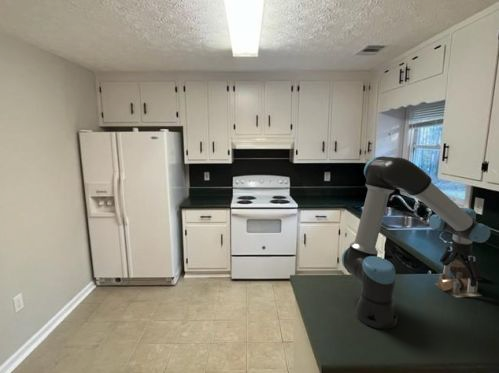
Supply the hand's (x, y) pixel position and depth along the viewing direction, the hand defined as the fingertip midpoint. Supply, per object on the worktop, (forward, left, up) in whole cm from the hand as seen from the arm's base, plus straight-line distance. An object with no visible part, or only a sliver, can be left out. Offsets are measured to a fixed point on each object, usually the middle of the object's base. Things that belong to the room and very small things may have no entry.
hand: (457, 284), depth 131 cm
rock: (+14, +12, -3) cm, 19 cm away
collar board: (0, 0, -3) cm, 3 cm away
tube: (0, -1, -2) cm, 2 cm away
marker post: (+3, +6, -2) cm, 7 cm away
